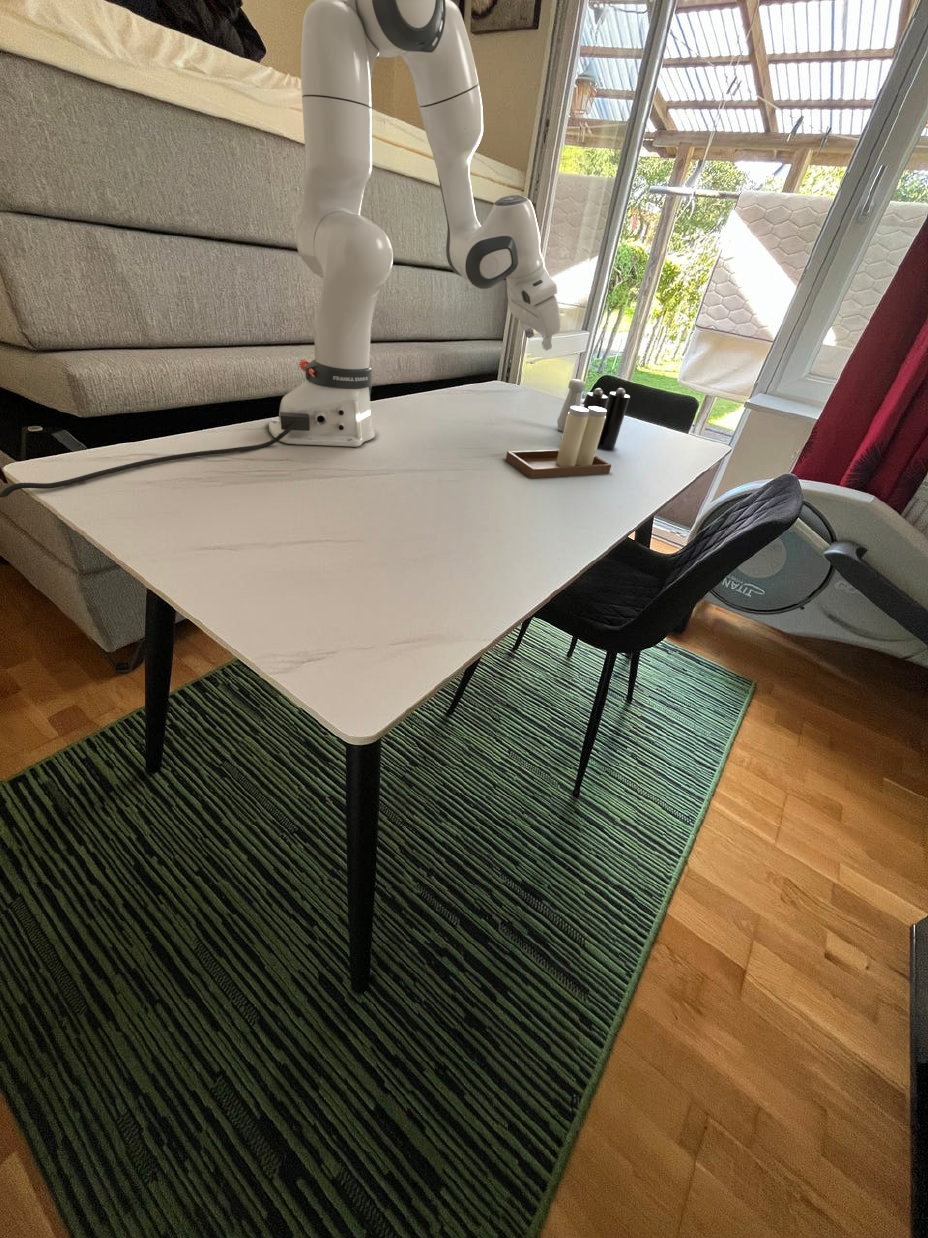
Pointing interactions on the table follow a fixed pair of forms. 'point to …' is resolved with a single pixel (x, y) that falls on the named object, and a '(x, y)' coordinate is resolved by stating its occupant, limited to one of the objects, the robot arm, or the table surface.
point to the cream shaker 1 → (572, 436)
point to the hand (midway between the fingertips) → (538, 342)
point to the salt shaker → (571, 401)
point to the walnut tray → (552, 464)
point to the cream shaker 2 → (591, 435)
